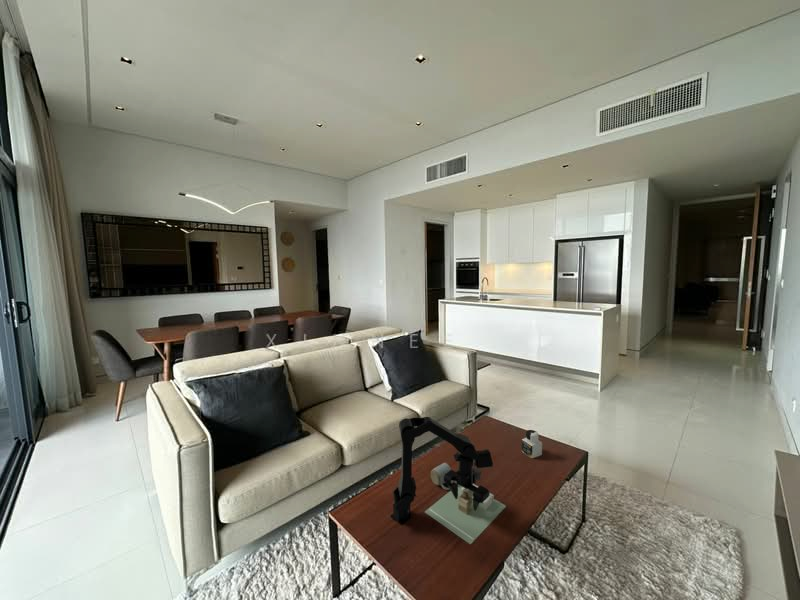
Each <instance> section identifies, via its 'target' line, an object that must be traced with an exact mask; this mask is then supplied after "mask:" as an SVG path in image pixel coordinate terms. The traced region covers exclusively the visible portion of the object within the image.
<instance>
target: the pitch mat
mask: <svg viewBox="0 0 800 600" xmlns="http://www.w3.org/2000/svg"><path fill="white" fill-rule="evenodd" d="M461 488H463V487H462V486H460V485H458V497H460V496H461ZM467 493H468V495H469V496H471V497H472V510H471V511H470V512H469V513H468V514H467V515H466V514H465V513H463V512H462V511H460V510H459V509H458V498H457V499H455V497H454V495H453V494H452V492H451V490H448V492H447V493H446V494H444V495H443V496H442V497H440V499H439V500H437V501H436V502H435V503H433V504H432V505H431V506H429V508H427V509H426V510H425V511H424V513H425V514H426V515H428V516H430V517H431V518H433V519H434V520H435V521H436V522H438V523H440V525H442V526H443V527H445V528H446V529H448V530H449V531H451V532H452V533H454V535H456V536H458V537H459V538H461V539H462V540H463V541H465V542H466V543H467V544H469V545H472V544H473V542H474V541H476V540H477V538H478V537H480V535H481V534H482V533H483V532H484V530H486V529H487V527H488V526H490V524H491V523H492V522H493V521H494V520H495V519H496V518H497V517H498V516H499V514H500V513H502V512H503V510H504V509H505V508H506V507H507V505H506V504H504V503H502V502H501V501H498V500H497V499H494V502H493V503H492V504H491V505H490V506H489V507H488V508H487V509H486V510H484V509H483V503H479V505H478V508H477V510H476V511H474V507H473V498H474V497H473V492H472V491H469V492H467Z"/></svg>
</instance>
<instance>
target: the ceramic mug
mask: <svg viewBox="0 0 800 600" xmlns="http://www.w3.org/2000/svg"><path fill="white" fill-rule="evenodd" d="M450 470H452V468H451V467H450V465H449V464H448V463H447V462H443V463H441V464H439V465H437V466H436V467H434V468H433V469H432V470H431V471H430V478H431V481H432V483H433V484H434V486H435V485H436V486H438V487H439V486H441V488H442V489H443V490H445V491H451V490H450V488H449V487H446V486H445V485H444V484H446V482H444V475H445V474H446V473H447V472H449V471H450Z"/></svg>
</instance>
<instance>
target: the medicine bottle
mask: <svg viewBox="0 0 800 600" xmlns="http://www.w3.org/2000/svg"><path fill="white" fill-rule="evenodd" d="M521 452H522V453H523V454H524V455H526V456H527V457H529V458H531V459H534V458H538V457H541V456H542V455H543V442H542V441H541V440H539V433H538V431H536V430H533V429H528V430H526V431H525V437H524V438H522V439H521Z"/></svg>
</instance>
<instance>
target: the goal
mask: <svg viewBox="0 0 800 600" xmlns="http://www.w3.org/2000/svg"><path fill="white" fill-rule="evenodd" d="M473 485H474V486H476V487H479V485H476V484H474V483H473ZM469 491H471V490H469V489H466V488H464V487H463V488H461V495H462V493H463V492H469ZM472 492H473V491H472ZM494 497H495V496H494V494H493V493H490V496H489V497H488V498H487V499H486V500H485V501H484V502H483V509H484V510H486V509H487V508H488V507H489V506H490V505H491V504H492V503H493V502H494Z"/></svg>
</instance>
